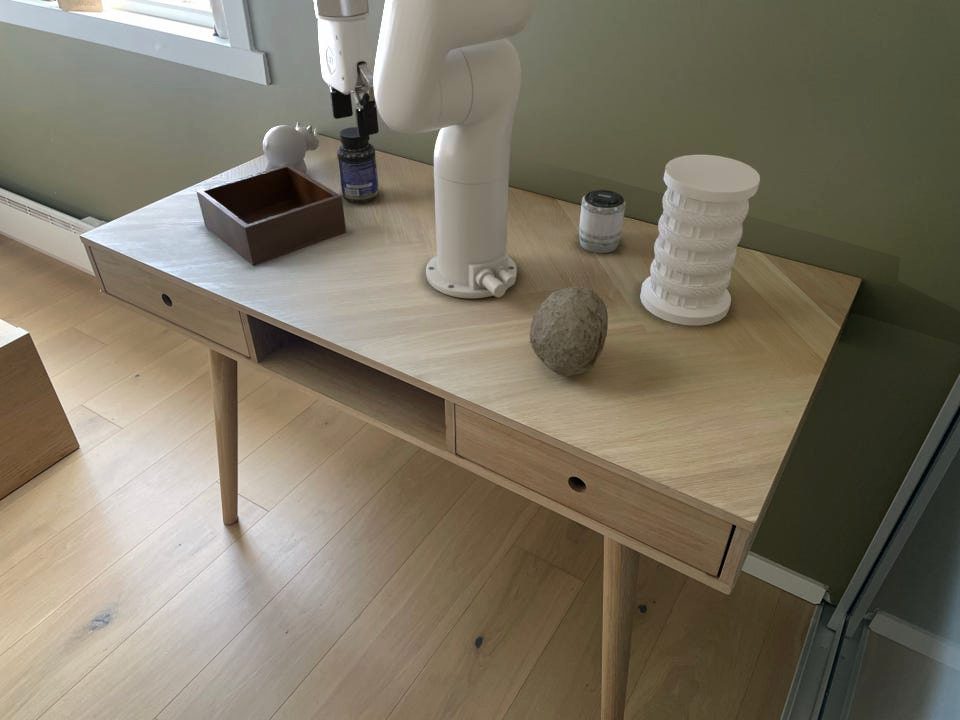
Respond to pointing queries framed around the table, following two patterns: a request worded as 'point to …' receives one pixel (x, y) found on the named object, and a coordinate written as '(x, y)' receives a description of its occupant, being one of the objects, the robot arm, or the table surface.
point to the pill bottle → (357, 167)
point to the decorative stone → (570, 330)
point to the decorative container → (698, 238)
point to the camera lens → (601, 221)
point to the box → (272, 213)
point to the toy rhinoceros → (289, 146)
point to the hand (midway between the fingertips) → (355, 125)
